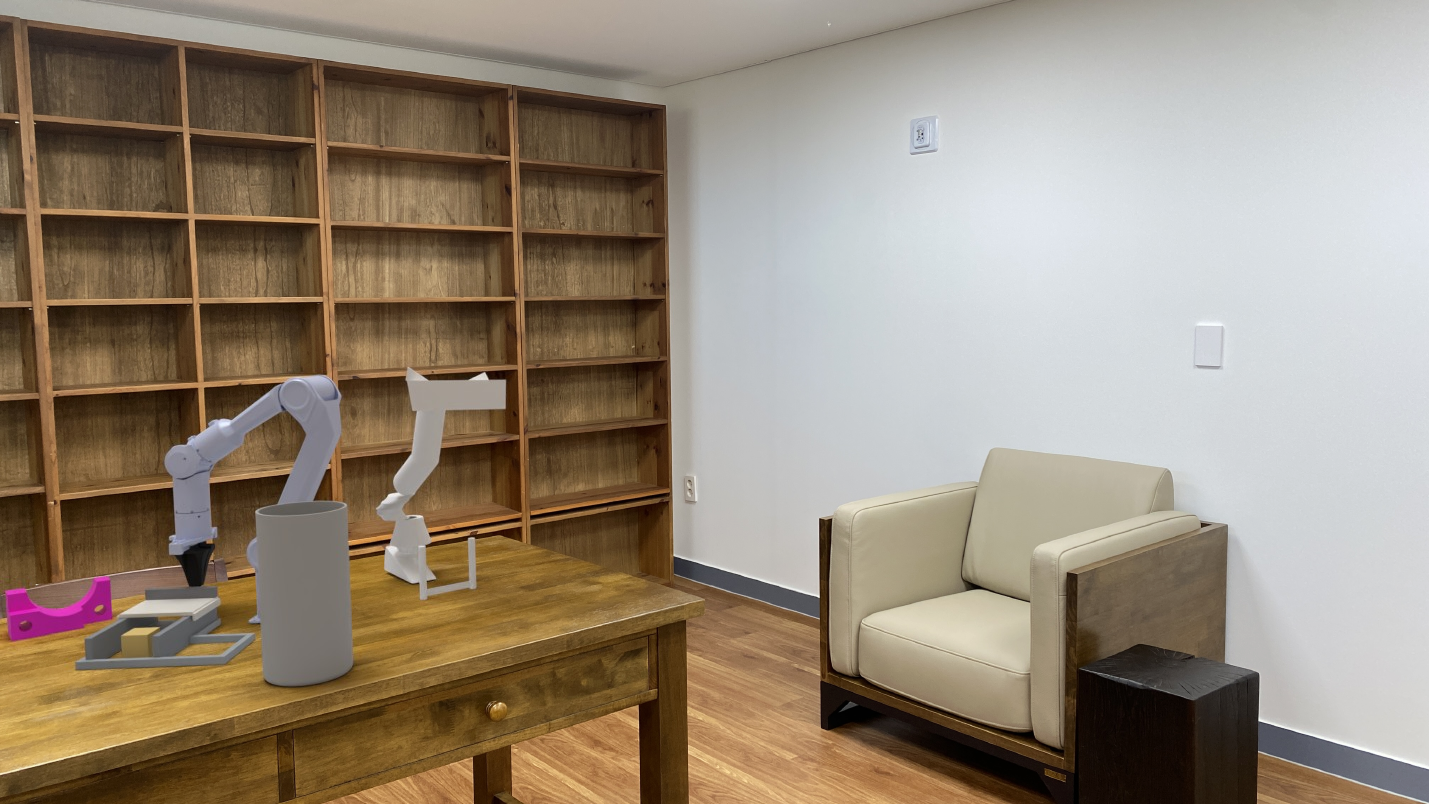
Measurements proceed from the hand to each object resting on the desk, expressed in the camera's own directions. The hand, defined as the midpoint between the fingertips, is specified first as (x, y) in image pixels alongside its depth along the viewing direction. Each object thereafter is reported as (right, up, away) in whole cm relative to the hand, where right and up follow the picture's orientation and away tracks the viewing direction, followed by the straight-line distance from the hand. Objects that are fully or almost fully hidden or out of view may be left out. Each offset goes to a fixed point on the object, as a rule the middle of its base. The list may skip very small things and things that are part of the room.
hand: (196, 585), depth 175 cm
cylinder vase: (+32, -8, -29) cm, 44 cm away
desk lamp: (+36, -5, +15) cm, 39 cm away
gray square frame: (+6, -7, -14) cm, 17 cm away
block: (+2, -7, -20) cm, 21 cm away
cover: (+1, -3, -10) cm, 10 cm away
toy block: (-21, -7, -4) cm, 23 cm away
